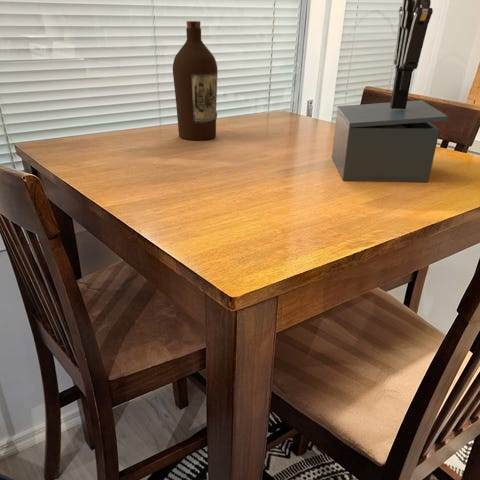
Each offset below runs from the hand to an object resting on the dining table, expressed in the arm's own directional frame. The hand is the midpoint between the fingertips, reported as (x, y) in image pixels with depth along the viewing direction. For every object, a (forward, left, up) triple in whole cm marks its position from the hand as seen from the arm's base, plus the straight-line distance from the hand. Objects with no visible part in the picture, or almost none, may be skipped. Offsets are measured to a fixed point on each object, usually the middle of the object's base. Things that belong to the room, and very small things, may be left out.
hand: (397, 108), depth 97 cm
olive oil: (+42, -26, -12) cm, 51 cm away
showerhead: (+1, 0, -11) cm, 11 cm away
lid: (+2, 0, -1) cm, 2 cm away
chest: (+2, 0, -12) cm, 12 cm away
